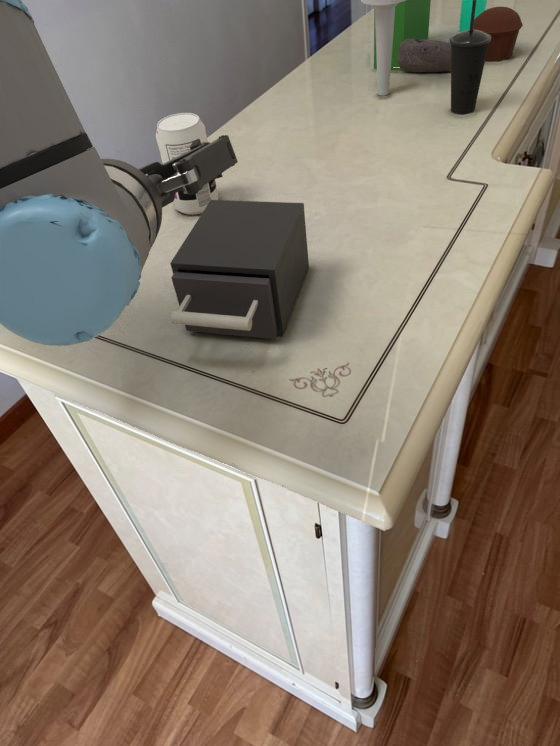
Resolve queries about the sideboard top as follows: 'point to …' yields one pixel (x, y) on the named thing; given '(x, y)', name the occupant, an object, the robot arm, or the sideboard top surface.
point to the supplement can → (176, 141)
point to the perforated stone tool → (424, 55)
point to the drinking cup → (467, 66)
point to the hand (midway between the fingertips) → (140, 177)
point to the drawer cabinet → (251, 247)
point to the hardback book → (407, 26)
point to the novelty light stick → (383, 40)
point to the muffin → (499, 31)
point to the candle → (466, 13)
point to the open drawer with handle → (225, 303)
